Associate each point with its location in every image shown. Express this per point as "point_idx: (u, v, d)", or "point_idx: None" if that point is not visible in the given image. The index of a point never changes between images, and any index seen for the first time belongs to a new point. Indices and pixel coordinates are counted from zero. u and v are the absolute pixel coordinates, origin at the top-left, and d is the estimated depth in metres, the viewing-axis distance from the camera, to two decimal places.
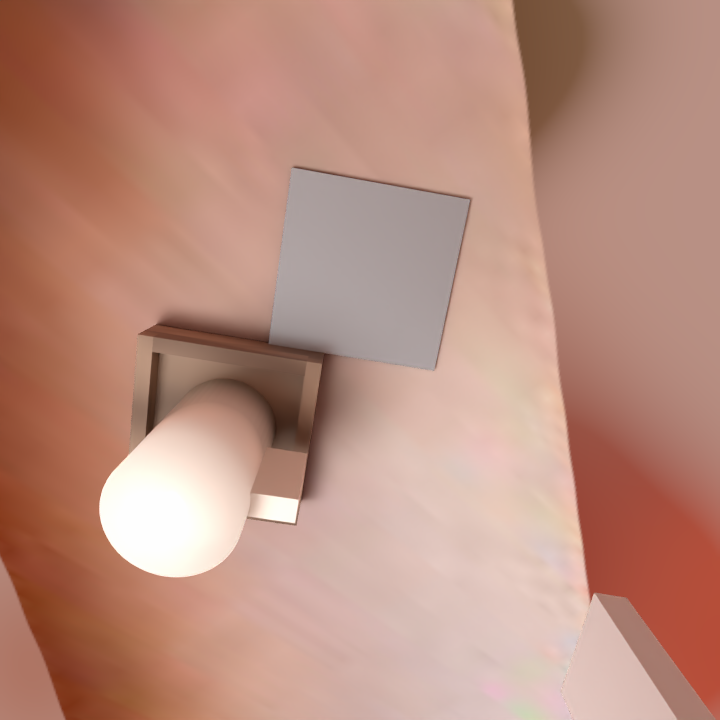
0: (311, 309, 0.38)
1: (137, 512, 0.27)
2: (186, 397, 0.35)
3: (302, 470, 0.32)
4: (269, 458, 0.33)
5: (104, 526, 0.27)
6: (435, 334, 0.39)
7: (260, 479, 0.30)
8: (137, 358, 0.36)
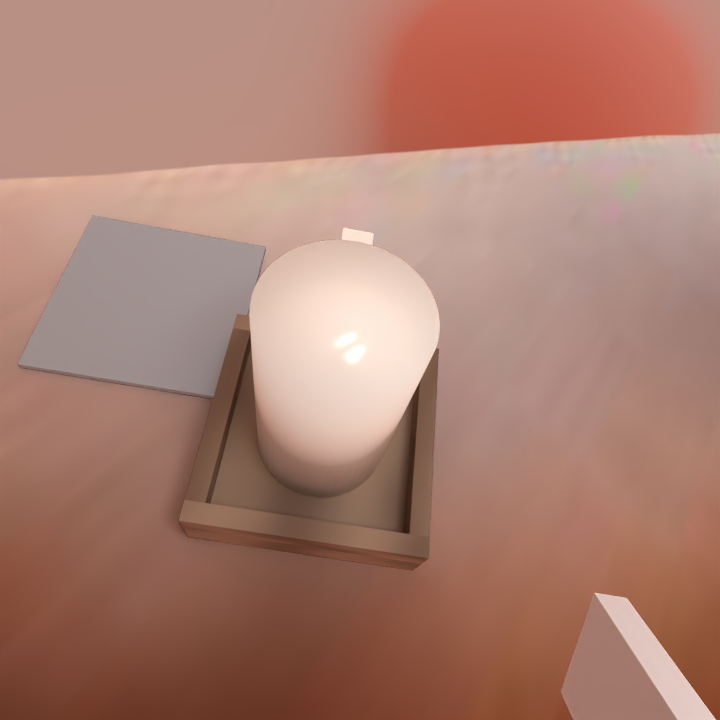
0: (186, 351, 0.34)
1: (344, 352, 0.19)
2: (264, 447, 0.27)
3: None
4: None
5: (368, 395, 0.19)
6: (226, 244, 0.38)
7: None
8: (213, 524, 0.26)
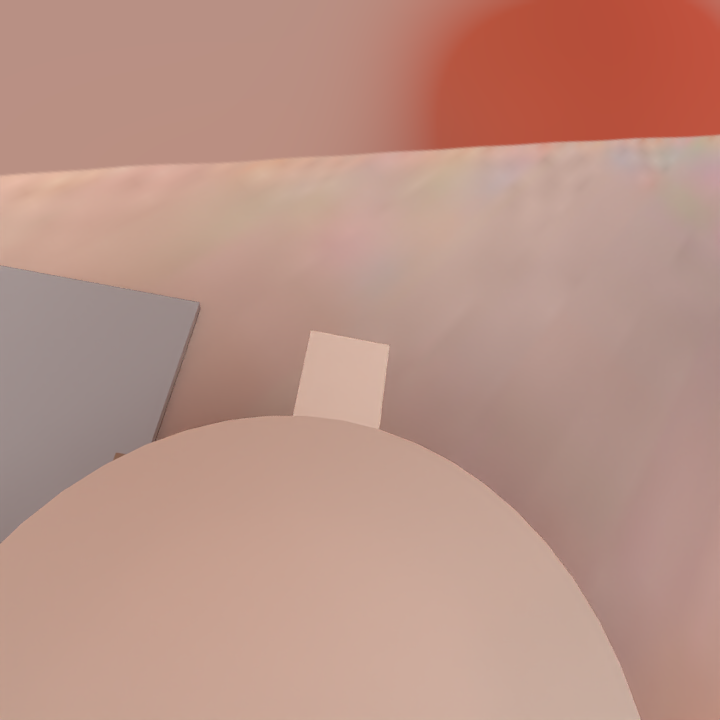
0: (33, 507, 0.18)
1: None
2: None
3: None
4: None
5: None
6: (133, 299, 0.23)
7: None
8: None
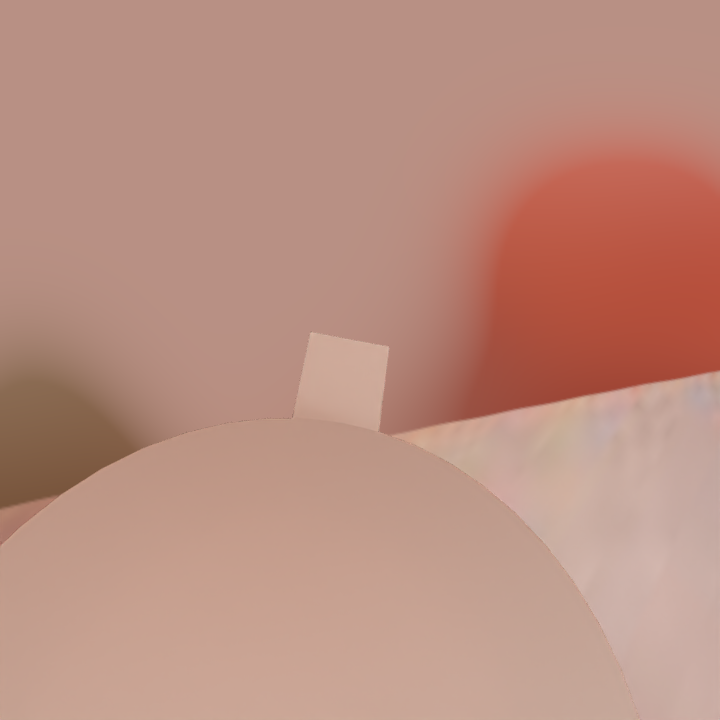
0: None
1: None
2: None
3: None
4: None
5: None
6: None
7: None
8: None
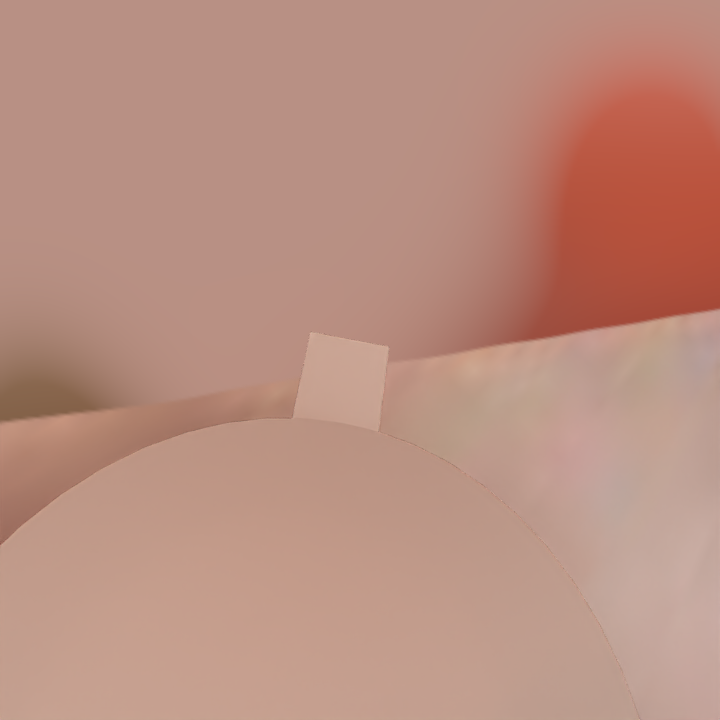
0: None
1: None
2: None
3: None
4: None
5: None
6: None
7: None
8: None
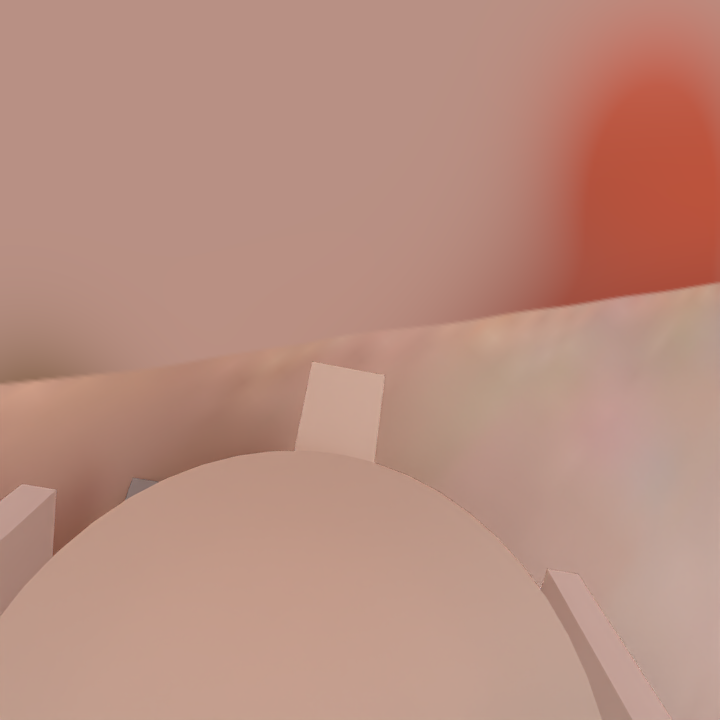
0: None
1: None
2: None
3: None
4: None
5: None
6: None
7: None
8: None
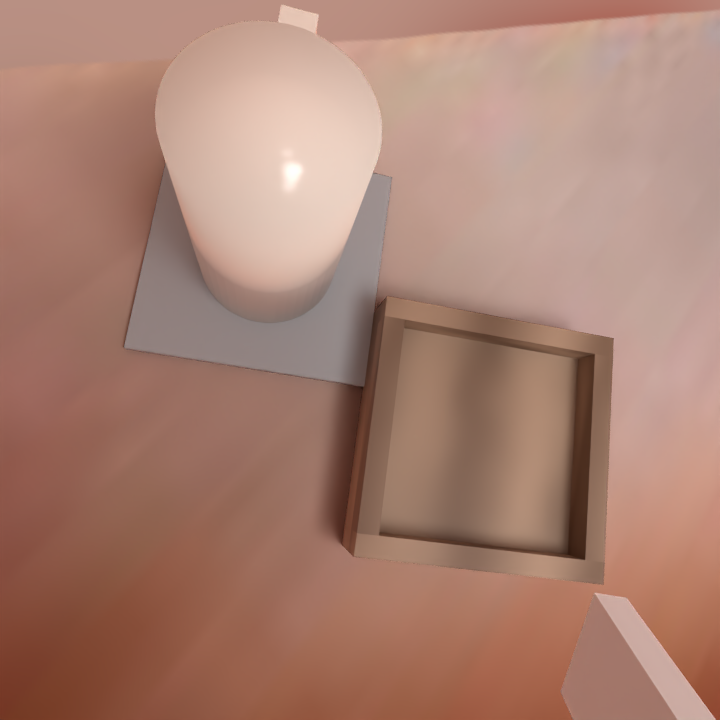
0: (315, 326, 0.29)
1: (267, 168, 0.17)
2: (202, 269, 0.25)
3: None
4: None
5: (292, 221, 0.17)
6: None
7: None
8: (389, 558, 0.24)
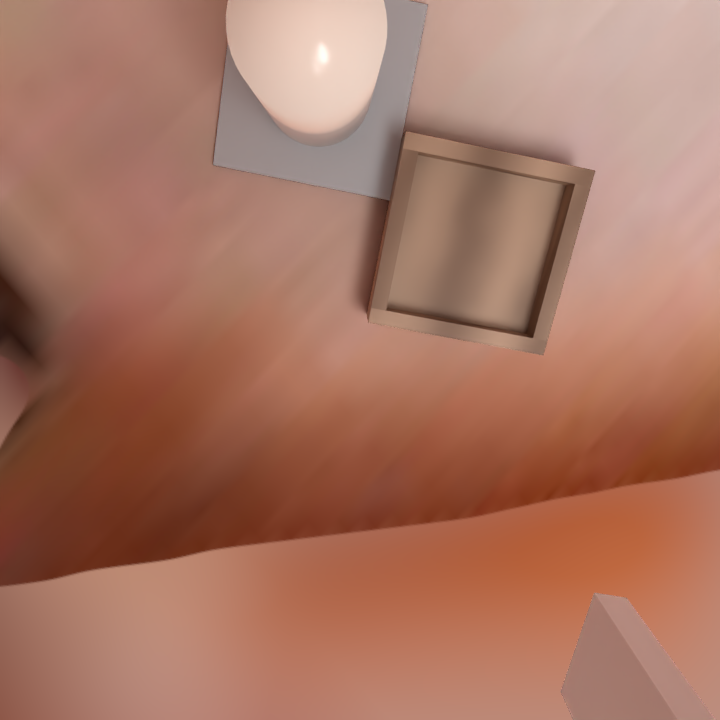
0: (353, 150, 0.36)
1: (303, 69, 0.24)
2: None
3: None
4: None
5: (318, 112, 0.25)
6: (385, 3, 0.34)
7: None
8: (392, 325, 0.36)
